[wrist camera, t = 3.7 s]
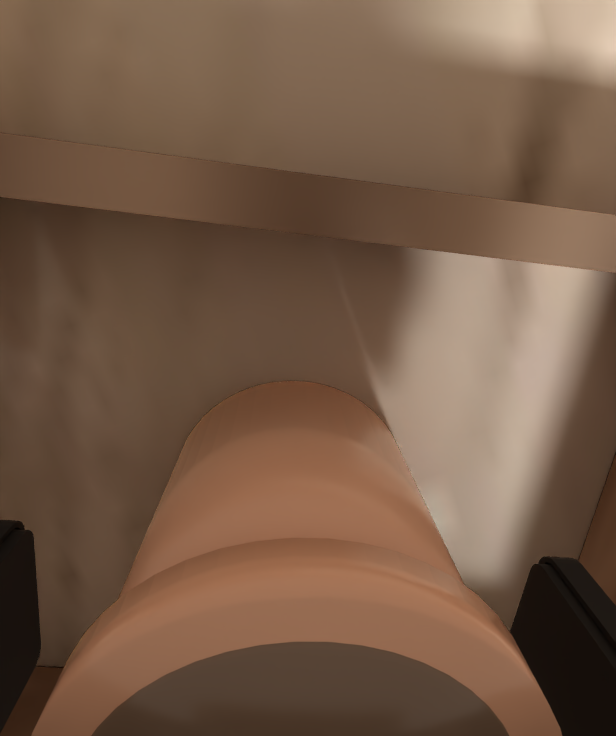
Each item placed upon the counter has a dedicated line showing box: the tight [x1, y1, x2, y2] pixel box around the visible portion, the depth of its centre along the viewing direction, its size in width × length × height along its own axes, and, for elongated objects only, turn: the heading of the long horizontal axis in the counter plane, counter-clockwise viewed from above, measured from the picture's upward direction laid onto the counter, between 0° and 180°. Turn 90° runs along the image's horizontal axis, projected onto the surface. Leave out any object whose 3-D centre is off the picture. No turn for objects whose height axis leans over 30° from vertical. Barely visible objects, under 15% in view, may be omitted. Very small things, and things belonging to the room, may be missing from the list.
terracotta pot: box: [31, 381, 562, 736], centre depth 10 cm, size 7×7×8 cm
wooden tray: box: [0, 133, 616, 736], centre depth 11 cm, size 20×16×4 cm
